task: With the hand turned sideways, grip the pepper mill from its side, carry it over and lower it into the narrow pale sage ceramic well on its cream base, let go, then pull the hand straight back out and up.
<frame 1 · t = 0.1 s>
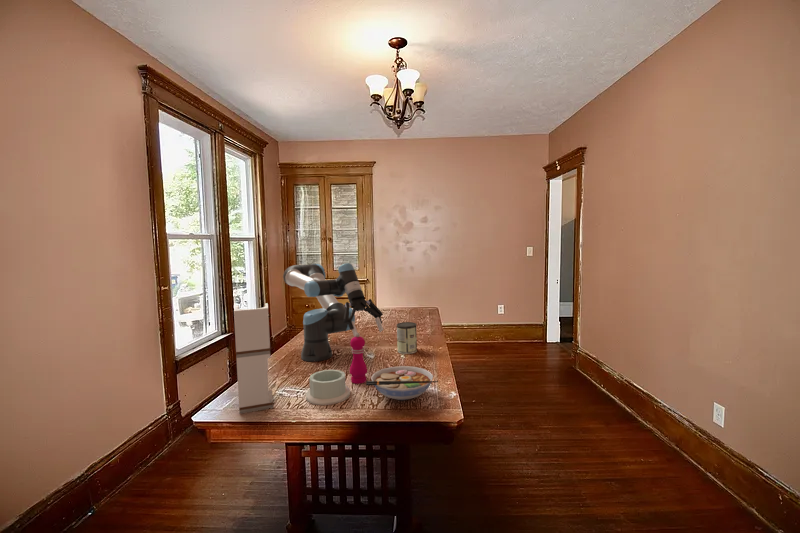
hand: (369, 333, 166), 15 cm above the table, tool tilted 35°, fingers open, 13 cm apart
well: (328, 395, 136), on the table
coffee can: (407, 351, 188), on the table
spiral stair tower: (256, 404, 130), on the table
pepper mill: (358, 381, 149), on the table
ramen bowl: (402, 396, 134), on the table
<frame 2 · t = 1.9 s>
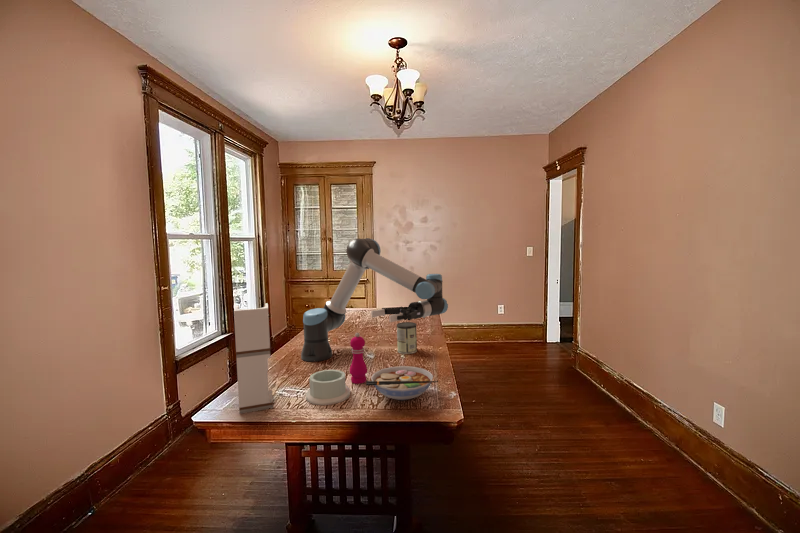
hand: (380, 316, 154), 25 cm above the table, tool horizontal, fingers open, 13 cm apart
nothing on the table moved.
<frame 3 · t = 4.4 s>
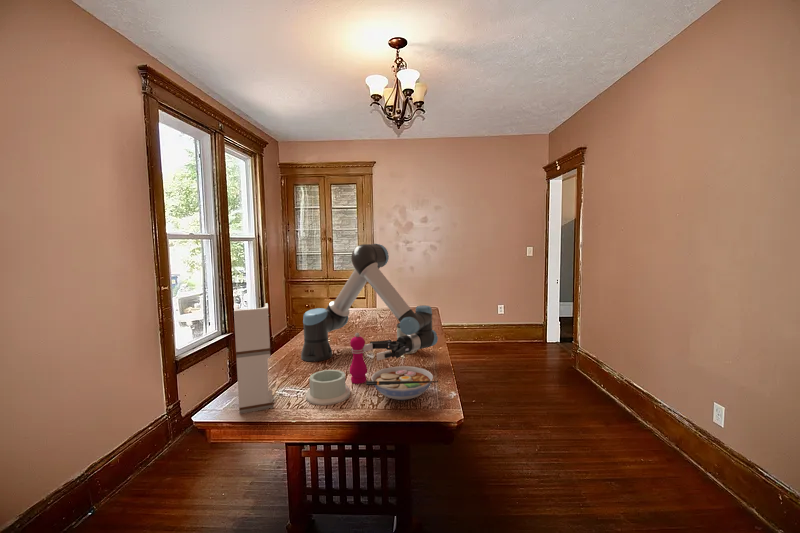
hand: (367, 353, 150), 11 cm above the table, tool horizontal, fingers open, 13 cm apart
nothing on the table moved.
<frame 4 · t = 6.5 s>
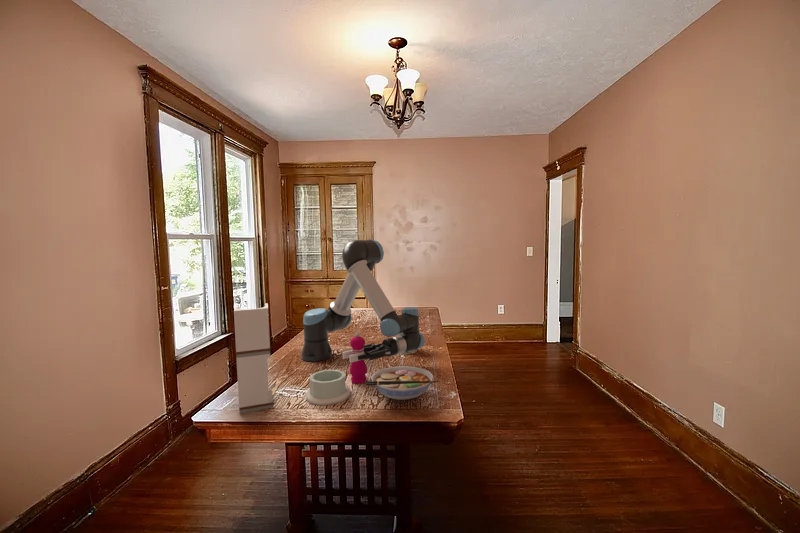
hand: (346, 357, 145), 11 cm above the table, tool horizontal, fingers closed on pepper mill, 5 cm apart
pepper mill: (358, 381, 149), on the table, touching gripper
everything else where it was.
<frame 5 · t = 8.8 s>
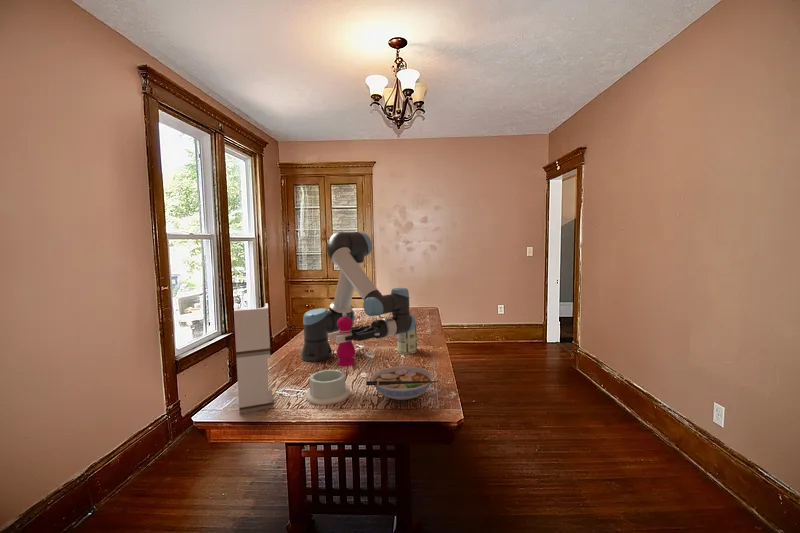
hand: (333, 338, 137), 21 cm above the table, tool horizontal, fingers closed on pepper mill, 5 cm apart
pepper mill: (346, 364, 141), point 10 cm above the table, touching gripper
everything else where it was.
when the fingers open (14 cm above the table, at t = 11.4 s): pepper mill drops 1 cm, resting on well.
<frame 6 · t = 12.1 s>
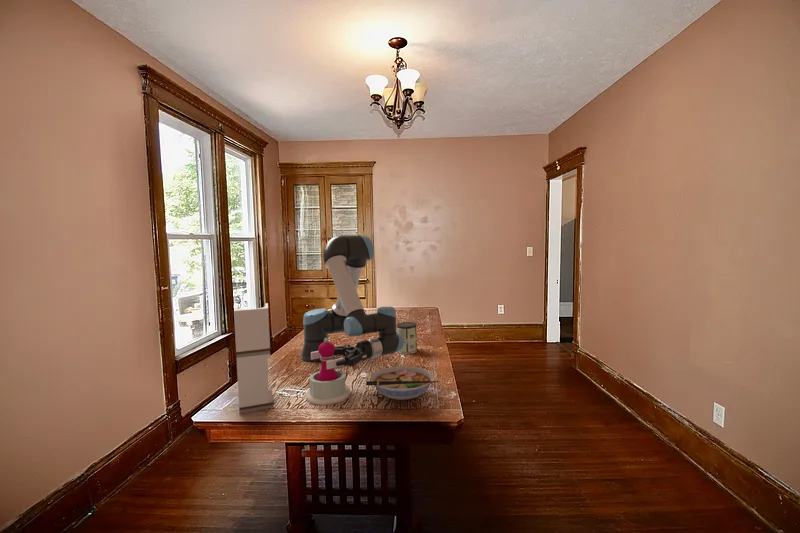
hand: (318, 360, 133), 14 cm above the table, tool horizontal, fingers open, 13 cm apart
pepper mill: (328, 391, 135), point 2 cm above the table, touching well
everything else where it was.
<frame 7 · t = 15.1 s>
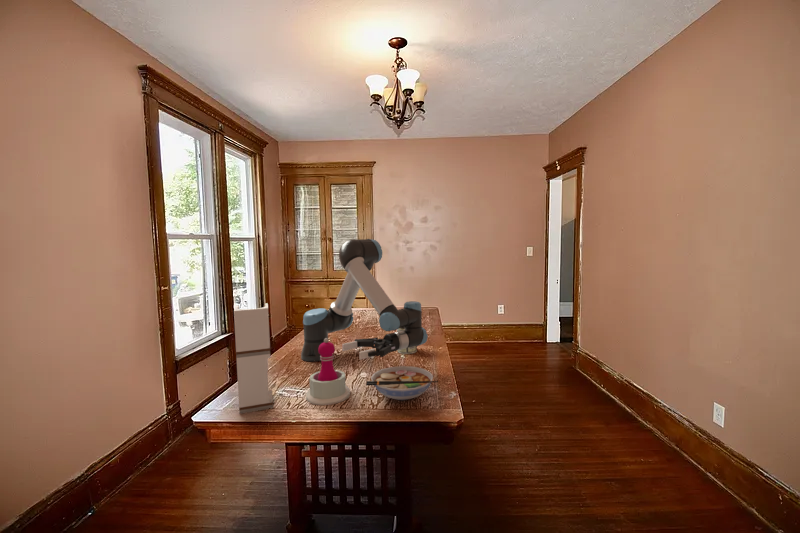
hand: (350, 351, 141), 15 cm above the table, tool horizontal, fingers open, 13 cm apart
nothing on the table moved.
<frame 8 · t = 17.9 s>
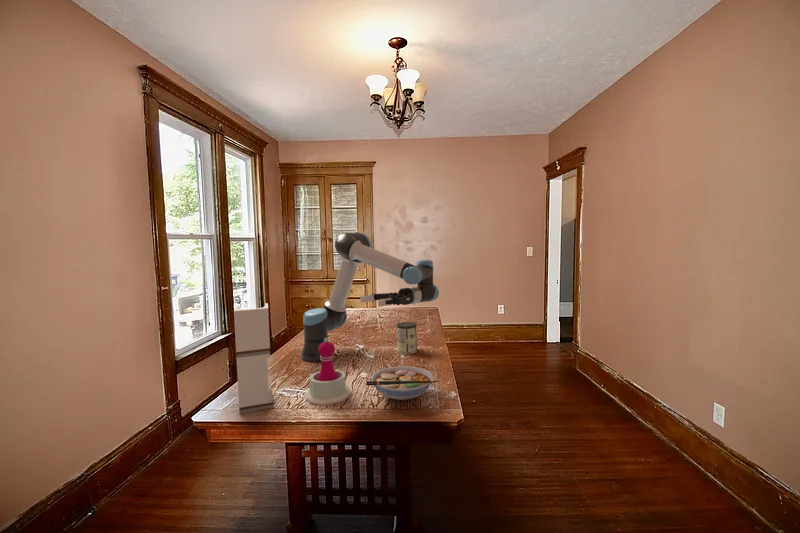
hand: (369, 301, 152), 32 cm above the table, tool horizontal, fingers open, 13 cm apart
nothing on the table moved.
at the end: pepper mill 0.0 cm off-centre on the well, point 1.5 cm above the well's base; pepper mill tilted 0°; the gripper is holding nothing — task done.
